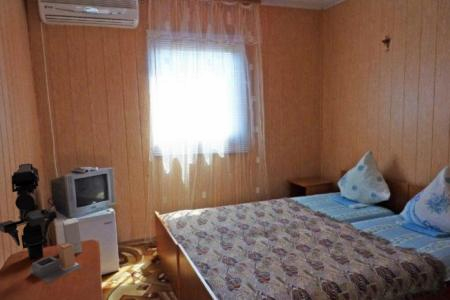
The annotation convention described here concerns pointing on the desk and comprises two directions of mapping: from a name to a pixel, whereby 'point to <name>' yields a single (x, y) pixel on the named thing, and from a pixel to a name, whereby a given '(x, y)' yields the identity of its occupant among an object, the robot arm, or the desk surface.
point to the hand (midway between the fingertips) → (31, 241)
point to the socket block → (51, 269)
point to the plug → (66, 255)
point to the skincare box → (72, 234)
